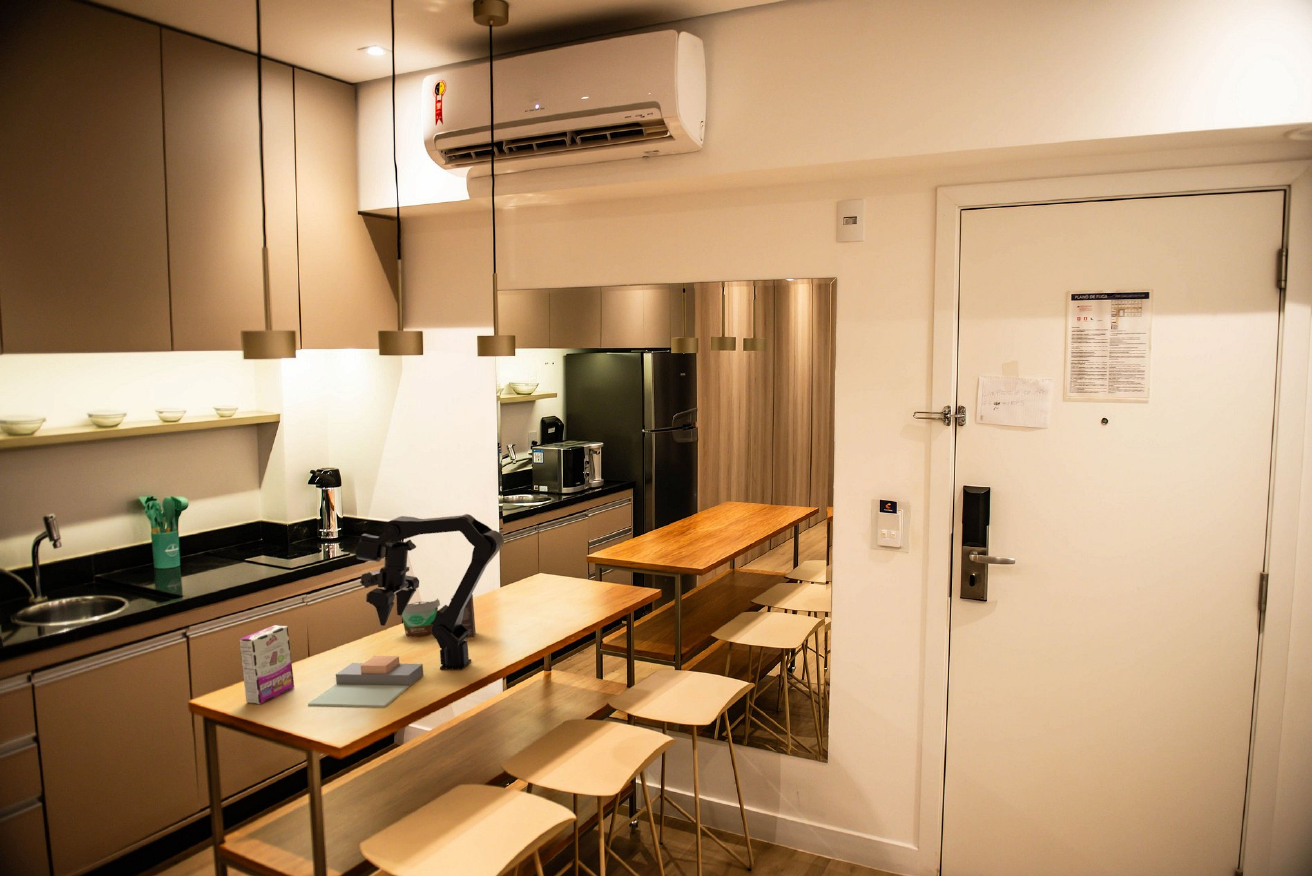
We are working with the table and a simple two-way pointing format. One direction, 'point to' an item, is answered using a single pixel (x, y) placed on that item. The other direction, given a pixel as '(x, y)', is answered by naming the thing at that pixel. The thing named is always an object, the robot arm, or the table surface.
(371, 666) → the coaster
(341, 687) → the mat
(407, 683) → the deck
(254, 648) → the candy bar box
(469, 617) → the box
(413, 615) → the food container
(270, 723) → the table surface
